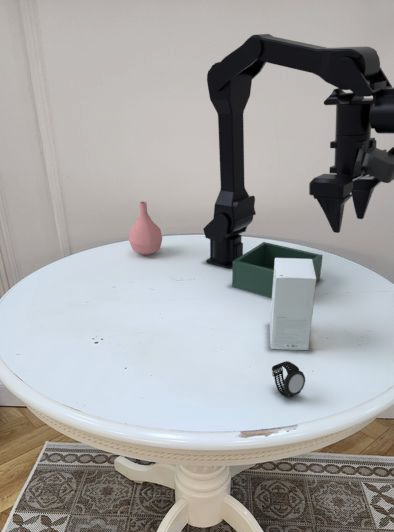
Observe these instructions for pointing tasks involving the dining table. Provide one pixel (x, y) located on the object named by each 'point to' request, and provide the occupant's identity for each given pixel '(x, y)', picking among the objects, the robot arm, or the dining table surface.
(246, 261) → the green storage bin
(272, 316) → the small box
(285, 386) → the smartwatch
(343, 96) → the robot arm
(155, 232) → the pink vase
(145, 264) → the dining table surface
